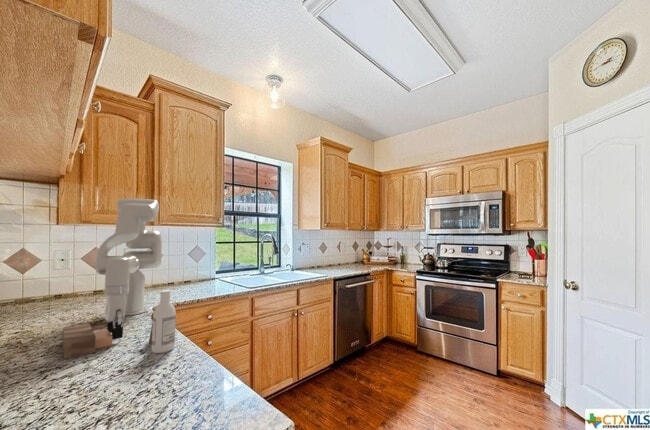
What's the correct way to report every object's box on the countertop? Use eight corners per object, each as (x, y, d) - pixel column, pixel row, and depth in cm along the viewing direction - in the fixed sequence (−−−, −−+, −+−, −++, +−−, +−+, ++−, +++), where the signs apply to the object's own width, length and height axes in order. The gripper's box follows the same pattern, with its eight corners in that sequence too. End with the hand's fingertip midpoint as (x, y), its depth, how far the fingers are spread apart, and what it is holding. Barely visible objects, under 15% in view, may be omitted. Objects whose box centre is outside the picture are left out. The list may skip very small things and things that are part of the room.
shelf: (61, 343, 103) (62, 328, 103) (88, 337, 108) (89, 323, 108) (64, 358, 89) (65, 341, 90) (94, 351, 95) (95, 335, 95)
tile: (71, 344, 102) (72, 335, 102) (106, 337, 109) (106, 328, 109) (74, 354, 94) (75, 343, 94) (111, 346, 101) (112, 336, 101)
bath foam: (178, 345, 100) (180, 288, 102) (167, 353, 93) (170, 292, 95) (158, 345, 100) (161, 289, 101) (146, 353, 93) (149, 292, 94)
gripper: (101, 288, 111) (98, 332, 110) (108, 294, 99) (105, 344, 97) (124, 285, 116) (121, 327, 115) (133, 291, 104) (131, 338, 103)
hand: (114, 335), depth 106 cm, fingers open, 9 cm apart
